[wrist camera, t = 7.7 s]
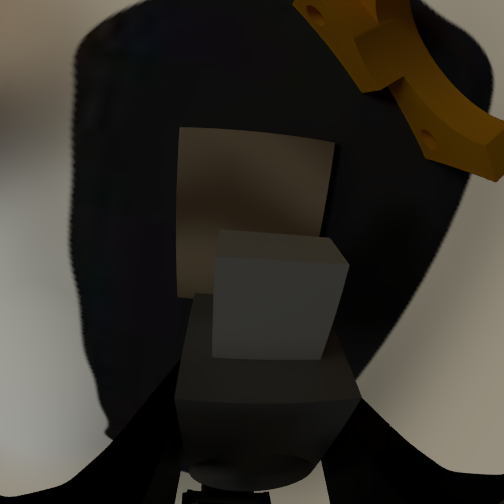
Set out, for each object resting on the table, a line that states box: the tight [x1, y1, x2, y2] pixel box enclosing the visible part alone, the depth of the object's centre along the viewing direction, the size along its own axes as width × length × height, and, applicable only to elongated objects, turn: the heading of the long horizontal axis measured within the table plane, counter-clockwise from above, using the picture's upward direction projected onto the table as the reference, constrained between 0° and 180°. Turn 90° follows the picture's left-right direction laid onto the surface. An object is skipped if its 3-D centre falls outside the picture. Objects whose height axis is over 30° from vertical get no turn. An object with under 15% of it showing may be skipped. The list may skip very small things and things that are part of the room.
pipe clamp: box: [292, 0, 504, 182], centre depth 10 cm, size 12×4×6 cm, turn 37°
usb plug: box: [174, 229, 362, 491], centre depth 8 cm, size 9×4×4 cm, turn 174°
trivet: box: [176, 127, 335, 298], centre depth 16 cm, size 10×8×1 cm
